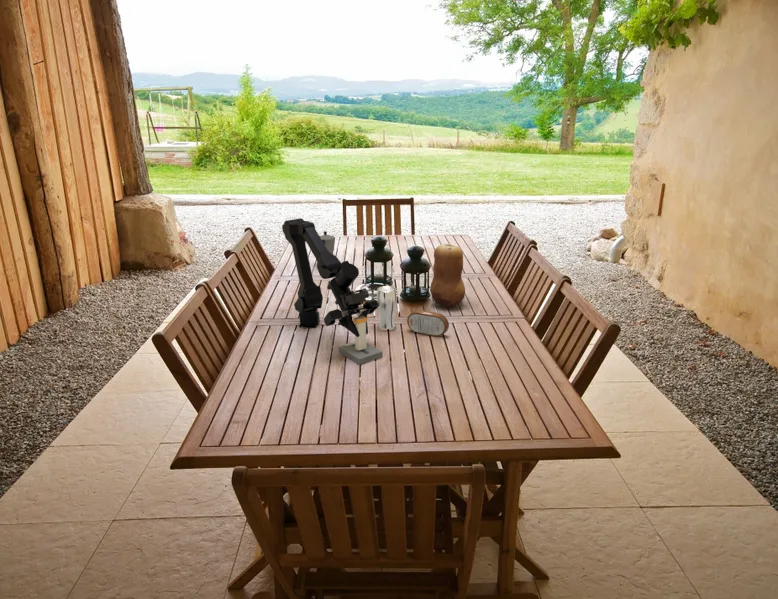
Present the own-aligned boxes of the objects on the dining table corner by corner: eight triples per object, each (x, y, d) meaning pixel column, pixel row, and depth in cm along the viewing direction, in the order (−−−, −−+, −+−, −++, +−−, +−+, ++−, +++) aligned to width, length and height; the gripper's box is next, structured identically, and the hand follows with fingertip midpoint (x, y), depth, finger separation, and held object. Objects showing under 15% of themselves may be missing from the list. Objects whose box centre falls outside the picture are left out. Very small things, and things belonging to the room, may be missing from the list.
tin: (448, 335, 204) (449, 313, 201) (445, 339, 201) (446, 316, 198) (409, 329, 210) (409, 307, 207) (406, 332, 207) (406, 310, 204)
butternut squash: (466, 301, 237) (468, 241, 228) (462, 312, 224) (464, 250, 216) (432, 298, 240) (433, 239, 231) (427, 310, 227) (428, 248, 219)
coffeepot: (319, 263, 290) (317, 228, 283) (338, 263, 289) (336, 228, 283) (314, 272, 275) (312, 235, 269) (334, 272, 275) (332, 235, 269)
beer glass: (394, 332, 207) (394, 292, 202) (375, 330, 209) (374, 291, 204) (398, 324, 214) (397, 286, 209) (379, 323, 215) (379, 285, 210)
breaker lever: (354, 348, 189) (353, 318, 185) (363, 345, 191) (362, 315, 187) (358, 351, 187) (357, 320, 184) (367, 348, 189) (366, 318, 186)
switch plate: (338, 352, 192) (338, 346, 191) (361, 345, 197) (361, 339, 197) (359, 364, 183) (359, 358, 182) (382, 357, 188) (382, 350, 188)
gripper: (327, 287, 179) (348, 331, 175) (375, 276, 190) (396, 317, 185) (315, 304, 188) (335, 346, 183) (362, 292, 198) (382, 332, 194)
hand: (363, 335), depth 186 cm, fingers closed on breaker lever, 3 cm apart
